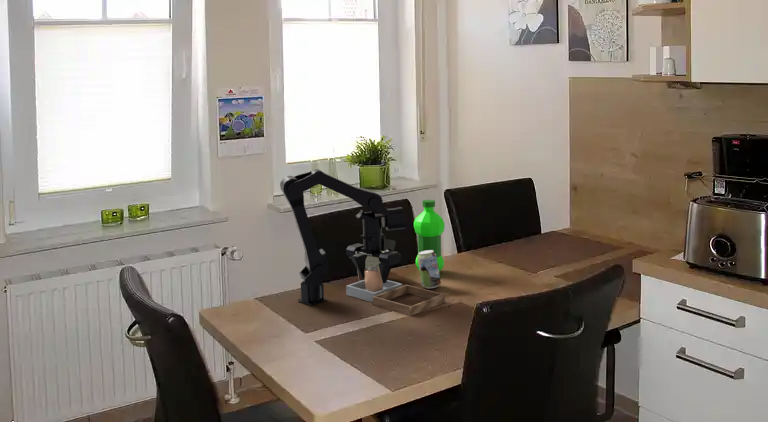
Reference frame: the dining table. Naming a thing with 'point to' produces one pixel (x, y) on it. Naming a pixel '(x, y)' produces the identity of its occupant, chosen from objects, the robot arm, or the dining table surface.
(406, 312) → the brown wooden tray
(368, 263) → the food container
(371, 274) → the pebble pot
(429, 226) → the plastic bottle
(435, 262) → the beverage can
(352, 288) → the tray
